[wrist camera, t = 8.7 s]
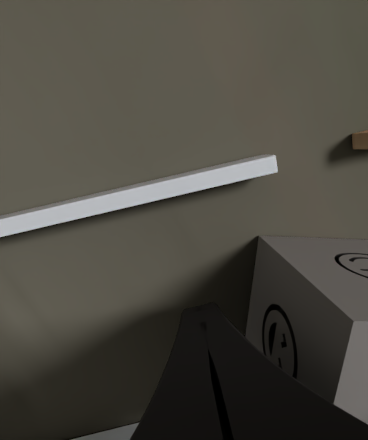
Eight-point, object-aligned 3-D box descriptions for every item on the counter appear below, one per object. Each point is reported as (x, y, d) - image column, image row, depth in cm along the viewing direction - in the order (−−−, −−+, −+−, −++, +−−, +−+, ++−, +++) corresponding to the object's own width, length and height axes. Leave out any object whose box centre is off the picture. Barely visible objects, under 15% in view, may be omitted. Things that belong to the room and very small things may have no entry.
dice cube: (391, 240, 10) (595, 323, 5) (361, 356, 11) (506, 508, 7) (258, 235, 10) (353, 321, 5) (242, 356, 11) (305, 519, 6)
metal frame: (297, 392, 12) (309, 415, 11) (-20, 471, 11) (-36, 501, 10) (263, 154, 9) (275, 155, 8) (-148, 250, 9) (-186, 263, 8)
